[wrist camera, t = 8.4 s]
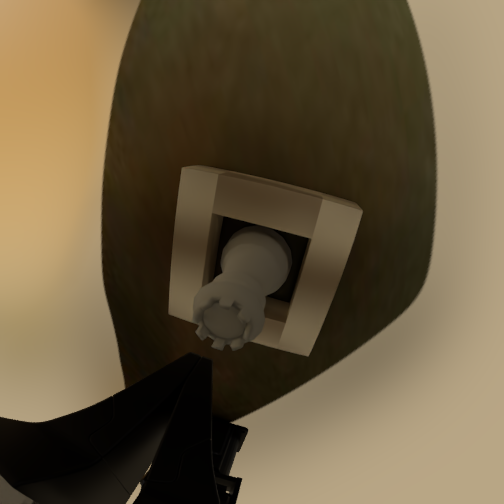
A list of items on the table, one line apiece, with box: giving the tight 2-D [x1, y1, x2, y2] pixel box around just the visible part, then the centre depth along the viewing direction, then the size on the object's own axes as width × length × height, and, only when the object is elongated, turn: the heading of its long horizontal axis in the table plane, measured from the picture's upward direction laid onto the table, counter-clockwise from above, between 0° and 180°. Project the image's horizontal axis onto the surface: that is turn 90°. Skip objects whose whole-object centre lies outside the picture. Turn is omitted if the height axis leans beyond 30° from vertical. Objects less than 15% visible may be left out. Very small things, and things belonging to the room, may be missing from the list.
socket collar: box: [169, 165, 363, 357], centre depth 17 cm, size 10×10×2 cm
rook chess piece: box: [192, 225, 292, 351], centre depth 14 cm, size 4×4×8 cm
